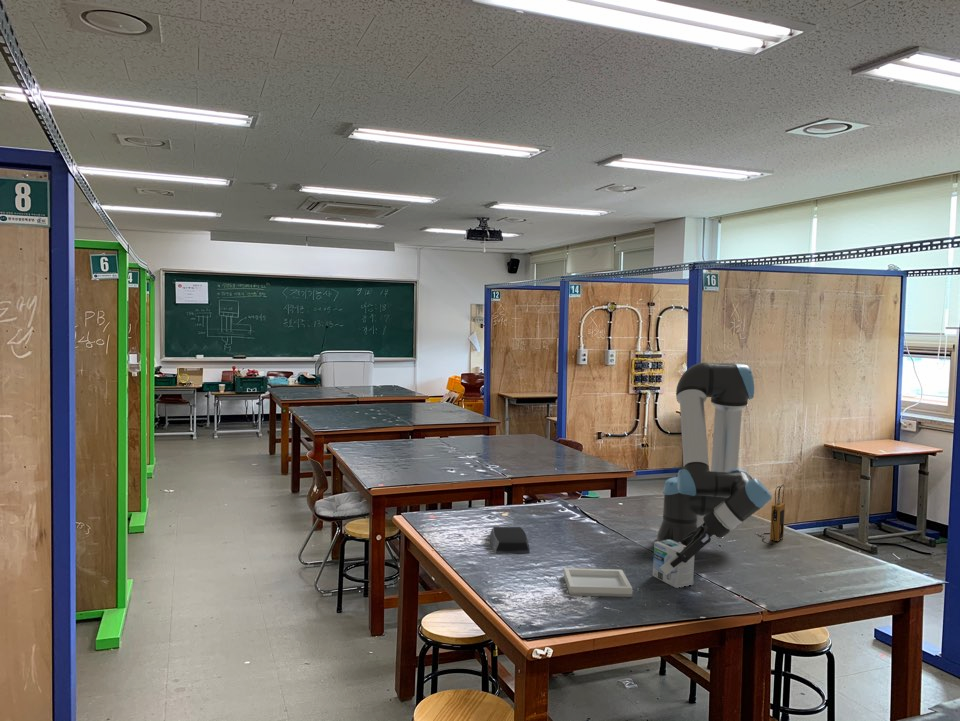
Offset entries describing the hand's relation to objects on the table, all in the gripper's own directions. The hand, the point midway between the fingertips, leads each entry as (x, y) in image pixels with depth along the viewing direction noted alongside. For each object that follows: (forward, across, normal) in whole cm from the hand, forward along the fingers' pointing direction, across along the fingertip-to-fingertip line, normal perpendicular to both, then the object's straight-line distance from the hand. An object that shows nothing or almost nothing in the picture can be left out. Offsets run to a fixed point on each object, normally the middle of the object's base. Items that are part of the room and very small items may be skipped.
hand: (665, 564), depth 200 cm
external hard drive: (+41, +12, +34) cm, 55 cm away
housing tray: (+16, -14, +9) cm, 23 cm away
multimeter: (-19, +59, -26) cm, 67 cm away
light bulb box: (+2, 0, -5) cm, 5 cm away
